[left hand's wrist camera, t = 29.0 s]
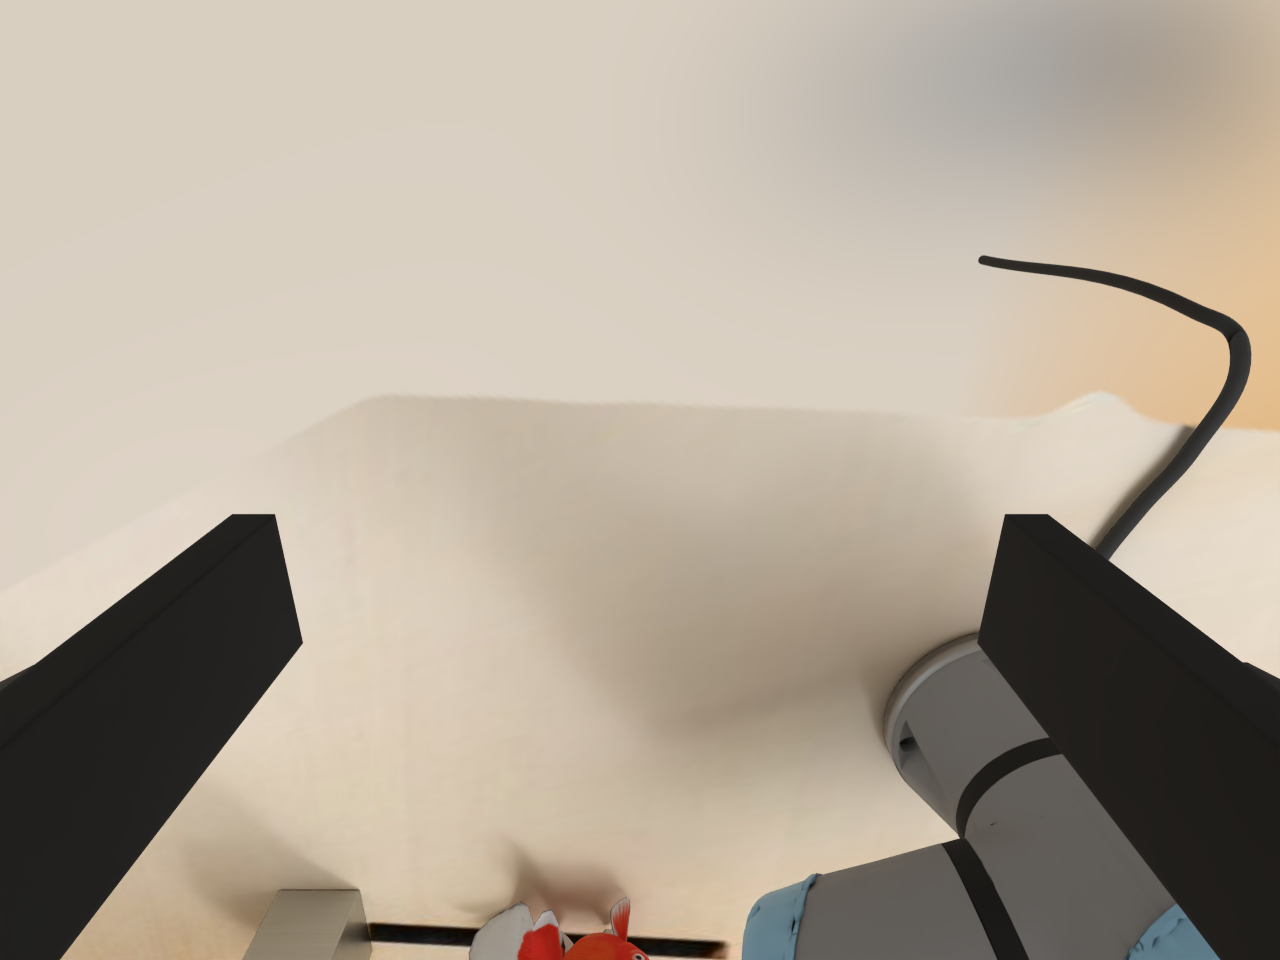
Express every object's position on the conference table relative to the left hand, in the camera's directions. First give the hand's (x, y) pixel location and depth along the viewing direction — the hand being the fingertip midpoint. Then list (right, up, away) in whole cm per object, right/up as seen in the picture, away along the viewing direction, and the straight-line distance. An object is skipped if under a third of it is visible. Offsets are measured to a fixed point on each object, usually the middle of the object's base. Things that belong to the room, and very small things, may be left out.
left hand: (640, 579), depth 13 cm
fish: (-7, -36, +47) cm, 60 cm away
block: (-27, -37, +48) cm, 66 cm away
